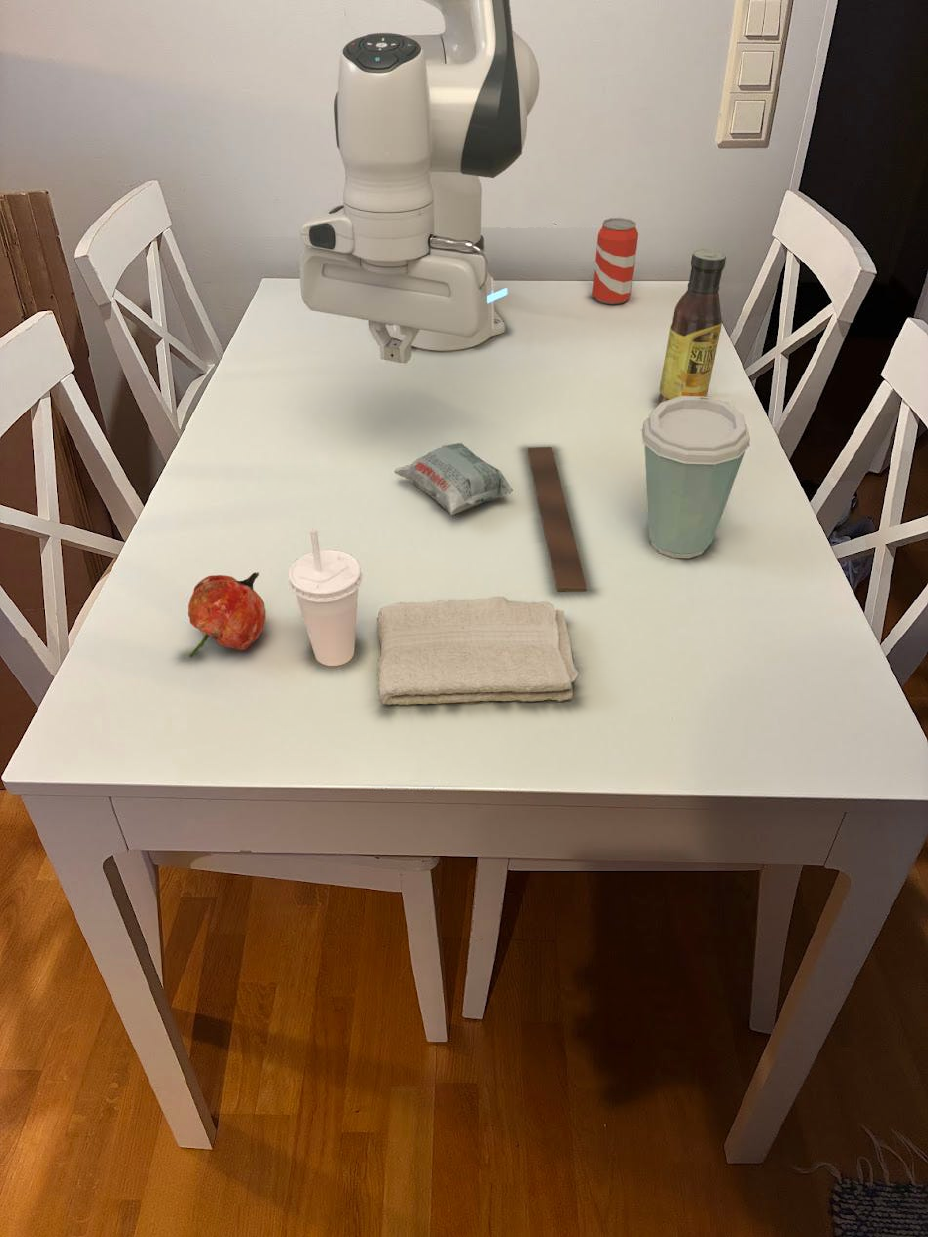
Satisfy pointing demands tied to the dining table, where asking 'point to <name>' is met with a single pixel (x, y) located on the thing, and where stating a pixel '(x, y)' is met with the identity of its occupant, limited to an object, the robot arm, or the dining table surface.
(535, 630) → the washcloth
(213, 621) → the pomegranate
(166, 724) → the dining table surface
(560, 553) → the ruler
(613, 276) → the beverage can
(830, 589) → the dining table surface
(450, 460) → the packaged food
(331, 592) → the smoothie
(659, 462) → the disposable coffee cup
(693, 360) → the sauce bottle
